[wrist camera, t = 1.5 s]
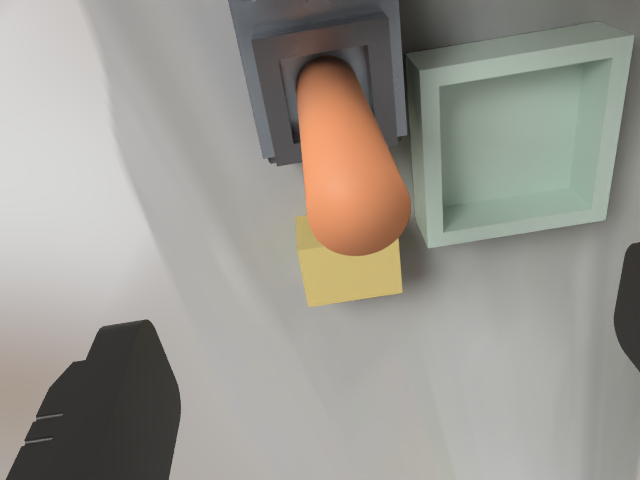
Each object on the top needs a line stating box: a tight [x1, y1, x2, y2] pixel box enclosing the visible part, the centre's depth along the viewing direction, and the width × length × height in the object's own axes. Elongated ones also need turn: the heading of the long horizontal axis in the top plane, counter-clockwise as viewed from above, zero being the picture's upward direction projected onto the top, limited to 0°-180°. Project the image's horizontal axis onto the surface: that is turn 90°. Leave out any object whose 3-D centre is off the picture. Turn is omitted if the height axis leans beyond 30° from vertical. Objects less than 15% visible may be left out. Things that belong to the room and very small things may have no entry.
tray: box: [405, 21, 635, 248], centre depth 26 cm, size 9×9×3 cm
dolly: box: [228, 0, 407, 166], centre depth 21 cm, size 9×6×8 cm, turn 9°
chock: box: [296, 215, 403, 307], centre depth 29 cm, size 4×5×4 cm
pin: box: [296, 55, 411, 256], centre depth 17 cm, size 2×2×10 cm
